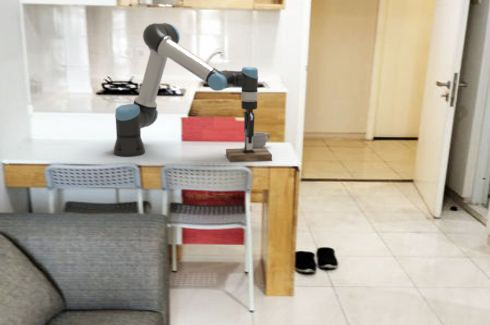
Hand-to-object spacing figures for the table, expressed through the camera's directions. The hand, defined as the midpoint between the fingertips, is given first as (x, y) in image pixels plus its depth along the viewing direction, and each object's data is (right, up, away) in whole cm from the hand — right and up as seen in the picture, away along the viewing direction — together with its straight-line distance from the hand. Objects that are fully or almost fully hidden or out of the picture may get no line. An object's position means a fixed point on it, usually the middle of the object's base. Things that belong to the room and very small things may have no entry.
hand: (248, 148), depth 256 cm
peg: (0, -4, +1) cm, 4 cm away
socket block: (0, -4, +1) cm, 5 cm away
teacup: (+5, +1, +21) cm, 22 cm away
